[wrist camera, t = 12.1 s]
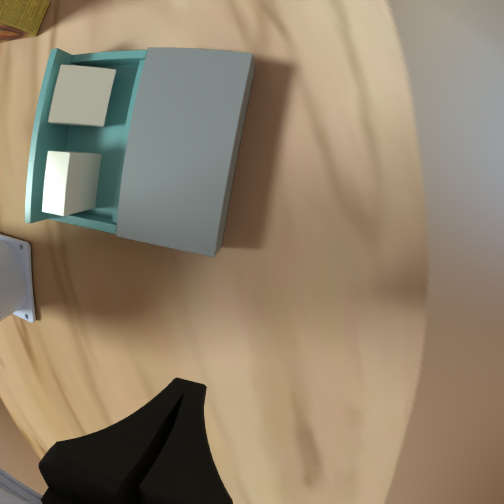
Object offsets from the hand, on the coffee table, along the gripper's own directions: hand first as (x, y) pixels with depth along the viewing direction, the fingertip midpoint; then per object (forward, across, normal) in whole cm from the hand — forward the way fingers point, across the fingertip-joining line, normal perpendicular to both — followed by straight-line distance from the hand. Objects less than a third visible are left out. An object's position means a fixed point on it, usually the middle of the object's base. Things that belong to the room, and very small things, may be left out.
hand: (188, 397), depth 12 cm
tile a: (+8, +11, -7) cm, 15 cm away
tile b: (+7, +12, -13) cm, 19 cm away
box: (+10, +12, -10) cm, 19 cm away
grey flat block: (+10, +4, -10) cm, 15 cm away
